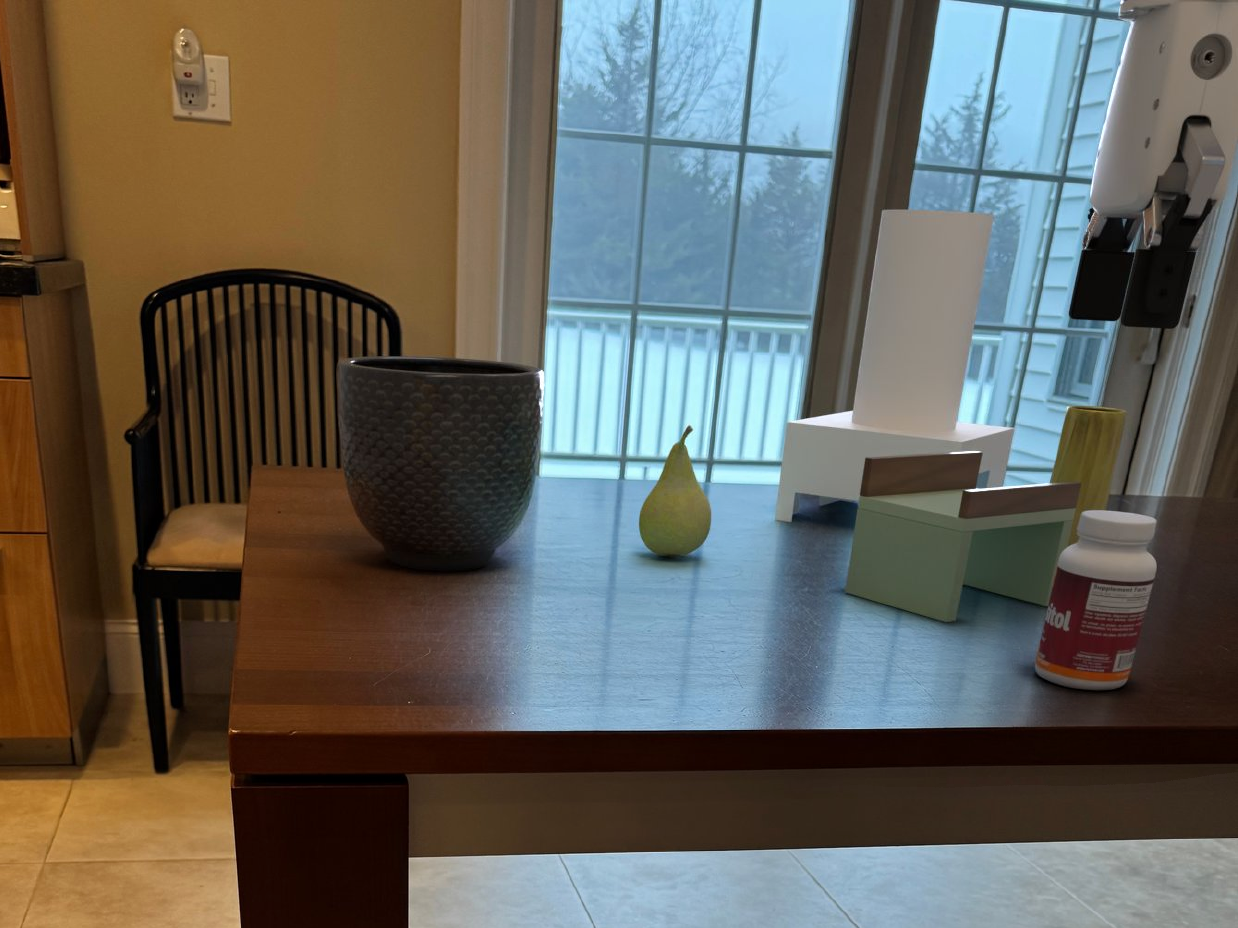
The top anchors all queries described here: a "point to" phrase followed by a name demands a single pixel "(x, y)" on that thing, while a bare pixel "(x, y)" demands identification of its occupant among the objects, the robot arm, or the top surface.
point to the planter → (439, 454)
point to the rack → (954, 534)
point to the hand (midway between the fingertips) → (1119, 323)
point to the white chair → (904, 364)
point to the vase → (1089, 456)
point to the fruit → (675, 507)
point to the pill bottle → (1098, 602)
